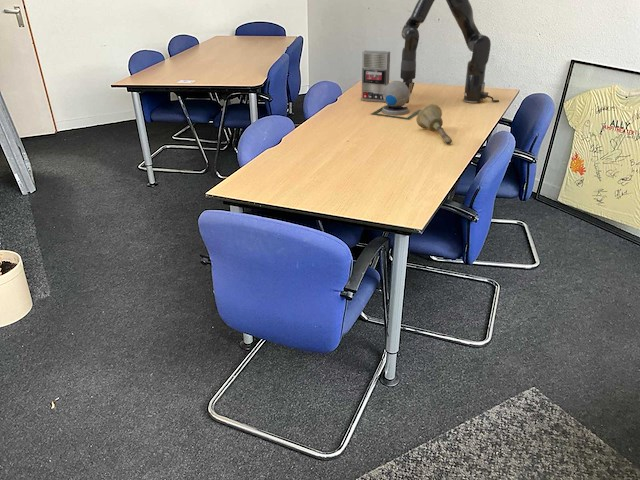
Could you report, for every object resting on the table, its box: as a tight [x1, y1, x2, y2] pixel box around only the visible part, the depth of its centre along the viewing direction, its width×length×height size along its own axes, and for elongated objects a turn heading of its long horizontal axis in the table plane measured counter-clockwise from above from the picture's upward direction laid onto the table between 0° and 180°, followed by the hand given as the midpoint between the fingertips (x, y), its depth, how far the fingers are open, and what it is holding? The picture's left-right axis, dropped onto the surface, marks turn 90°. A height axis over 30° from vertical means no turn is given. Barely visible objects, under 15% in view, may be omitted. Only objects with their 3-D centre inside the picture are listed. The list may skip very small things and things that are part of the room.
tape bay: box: [371, 106, 421, 120], centre depth 267 cm, size 20×17×1 cm
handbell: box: [416, 103, 453, 145], centre depth 231 cm, size 12×12×25 cm
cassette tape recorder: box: [360, 50, 391, 103], centre depth 282 cm, size 14×6×25 cm, turn 68°
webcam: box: [382, 80, 410, 116], centre depth 265 cm, size 13×13×15 cm
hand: (406, 103), depth 276 cm, fingers closed
